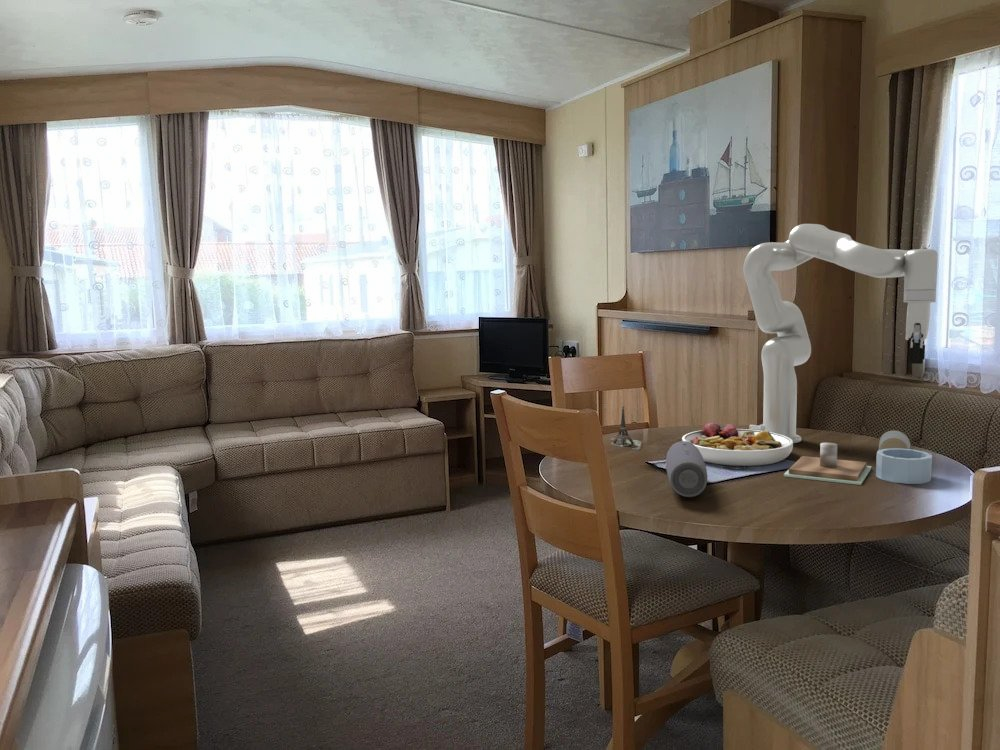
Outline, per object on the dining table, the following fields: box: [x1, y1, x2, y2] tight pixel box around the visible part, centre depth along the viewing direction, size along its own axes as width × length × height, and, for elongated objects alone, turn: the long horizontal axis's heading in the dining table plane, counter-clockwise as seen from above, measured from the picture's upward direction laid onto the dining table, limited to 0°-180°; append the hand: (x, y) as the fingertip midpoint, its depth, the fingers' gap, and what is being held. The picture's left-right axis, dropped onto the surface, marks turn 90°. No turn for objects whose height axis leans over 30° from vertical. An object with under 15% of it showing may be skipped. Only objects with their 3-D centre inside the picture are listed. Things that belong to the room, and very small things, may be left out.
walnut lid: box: [788, 442, 868, 481], centre depth 204 cm, size 16×16×7 cm
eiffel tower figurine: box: [610, 405, 643, 451], centre depth 243 cm, size 15×10×13 cm
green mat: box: [783, 465, 872, 486], centre depth 205 cm, size 18×18×1 cm
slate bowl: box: [875, 448, 933, 485], centre depth 198 cm, size 12×12×6 cm
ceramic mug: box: [878, 430, 911, 450], centre depth 214 cm, size 11×8×8 cm
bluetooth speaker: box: [665, 440, 708, 498], centre depth 193 cm, size 23×9×10 cm, turn 170°
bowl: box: [681, 421, 794, 467], centre depth 226 cm, size 30×30×8 cm
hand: (916, 361), depth 212 cm, fingers open, 9 cm apart
